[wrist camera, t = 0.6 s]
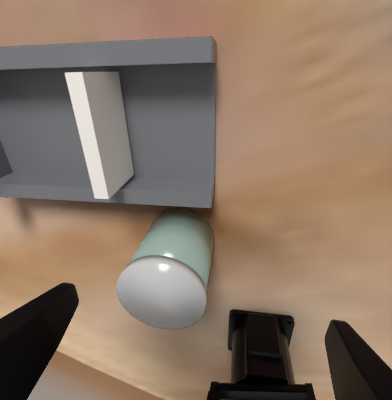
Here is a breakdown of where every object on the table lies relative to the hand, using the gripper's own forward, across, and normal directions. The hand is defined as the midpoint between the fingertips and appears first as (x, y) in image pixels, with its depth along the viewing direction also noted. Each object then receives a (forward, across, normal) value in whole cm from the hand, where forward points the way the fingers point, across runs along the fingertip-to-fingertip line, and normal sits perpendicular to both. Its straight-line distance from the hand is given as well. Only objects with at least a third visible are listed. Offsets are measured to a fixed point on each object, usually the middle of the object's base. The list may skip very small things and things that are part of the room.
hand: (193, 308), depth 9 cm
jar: (+13, +3, +6) cm, 14 cm away
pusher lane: (+12, +10, -4) cm, 16 cm away
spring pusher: (+12, +8, -4) cm, 14 cm away
